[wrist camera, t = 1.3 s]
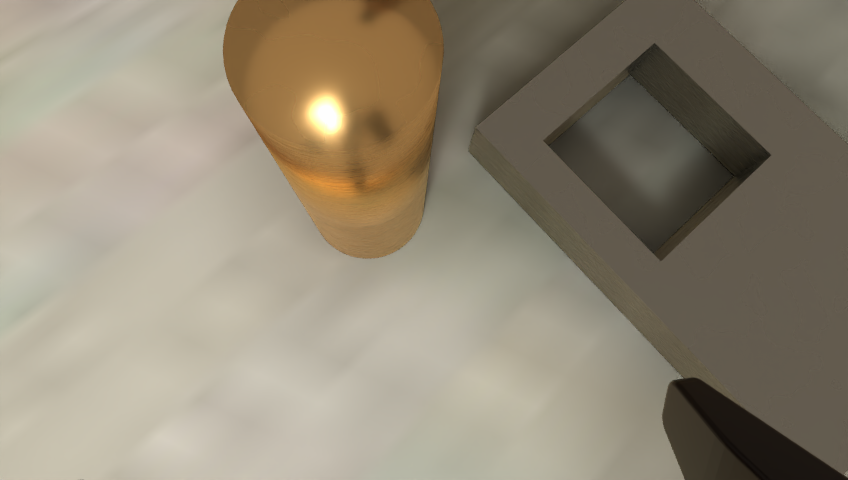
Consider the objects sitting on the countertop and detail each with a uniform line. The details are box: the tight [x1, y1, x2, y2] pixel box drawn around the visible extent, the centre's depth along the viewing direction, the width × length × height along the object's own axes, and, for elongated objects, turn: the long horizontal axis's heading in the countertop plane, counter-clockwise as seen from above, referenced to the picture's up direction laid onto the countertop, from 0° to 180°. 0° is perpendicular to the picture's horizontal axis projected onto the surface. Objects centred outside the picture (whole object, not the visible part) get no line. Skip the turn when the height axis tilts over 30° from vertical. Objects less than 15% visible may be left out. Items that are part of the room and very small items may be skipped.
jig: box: [469, 0, 848, 475], centre depth 23 cm, size 17×10×2 cm, turn 42°
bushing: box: [223, 0, 444, 258], centre depth 18 cm, size 4×4×12 cm
